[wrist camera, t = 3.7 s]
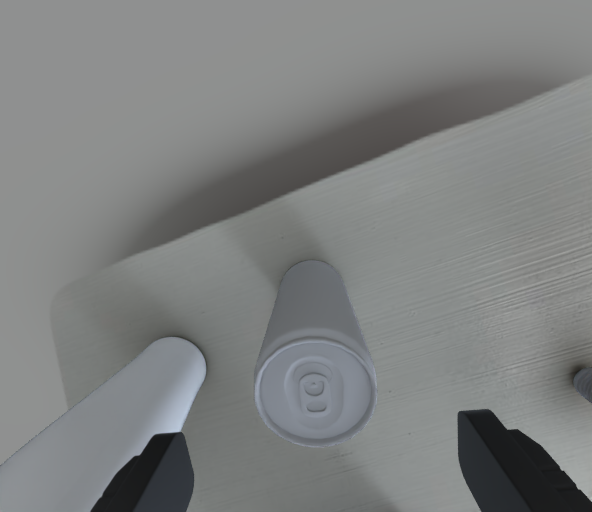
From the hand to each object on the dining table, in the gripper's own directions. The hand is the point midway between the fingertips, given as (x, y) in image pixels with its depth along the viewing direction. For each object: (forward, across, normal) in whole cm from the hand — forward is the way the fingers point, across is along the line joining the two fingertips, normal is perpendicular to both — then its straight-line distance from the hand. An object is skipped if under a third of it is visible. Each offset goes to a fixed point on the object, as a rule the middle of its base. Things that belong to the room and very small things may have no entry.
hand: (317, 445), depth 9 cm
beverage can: (+14, 0, 0) cm, 14 cm away
